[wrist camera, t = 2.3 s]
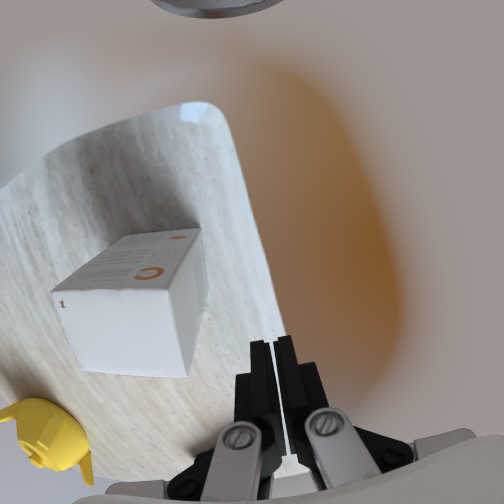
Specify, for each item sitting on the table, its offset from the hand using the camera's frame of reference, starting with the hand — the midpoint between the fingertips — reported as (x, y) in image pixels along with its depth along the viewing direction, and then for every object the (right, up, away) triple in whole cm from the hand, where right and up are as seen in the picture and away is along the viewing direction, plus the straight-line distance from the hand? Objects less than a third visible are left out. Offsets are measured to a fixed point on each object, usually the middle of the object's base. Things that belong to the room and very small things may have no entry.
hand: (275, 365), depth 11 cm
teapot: (-38, -27, +25) cm, 53 cm away
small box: (-9, +4, +16) cm, 19 cm away
